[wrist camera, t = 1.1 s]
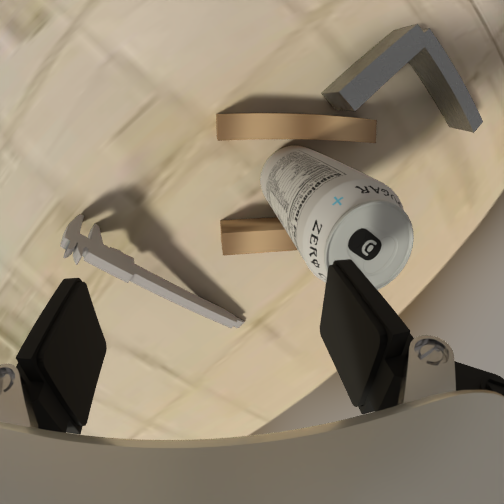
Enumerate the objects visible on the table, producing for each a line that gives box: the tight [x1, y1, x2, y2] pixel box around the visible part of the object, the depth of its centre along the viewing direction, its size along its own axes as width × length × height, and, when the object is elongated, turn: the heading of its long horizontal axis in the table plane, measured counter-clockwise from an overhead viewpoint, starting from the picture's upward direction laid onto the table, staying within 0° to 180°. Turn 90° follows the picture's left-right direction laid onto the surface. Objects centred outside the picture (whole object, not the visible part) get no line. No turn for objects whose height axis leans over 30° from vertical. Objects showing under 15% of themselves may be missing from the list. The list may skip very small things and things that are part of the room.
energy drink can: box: [260, 145, 414, 290], centre depth 20 cm, size 6×6×15 cm
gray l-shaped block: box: [321, 24, 483, 133], centre depth 22 cm, size 9×17×4 cm, turn 90°
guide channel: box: [216, 113, 377, 255], centre depth 26 cm, size 13×12×3 cm
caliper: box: [60, 214, 245, 328], centre depth 27 cm, size 20×1×6 cm, turn 49°
